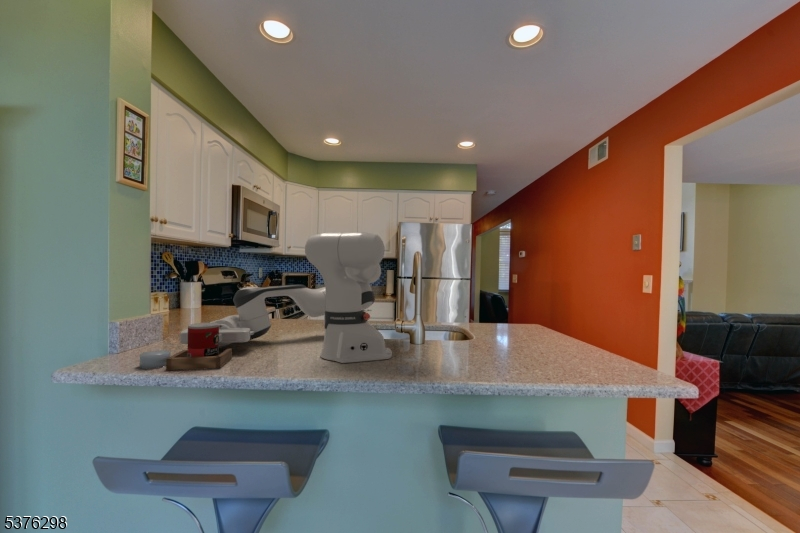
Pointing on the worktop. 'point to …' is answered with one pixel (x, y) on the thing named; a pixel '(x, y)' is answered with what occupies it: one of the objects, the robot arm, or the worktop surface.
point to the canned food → (203, 339)
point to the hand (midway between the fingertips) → (208, 340)
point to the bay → (197, 361)
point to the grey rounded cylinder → (154, 359)
